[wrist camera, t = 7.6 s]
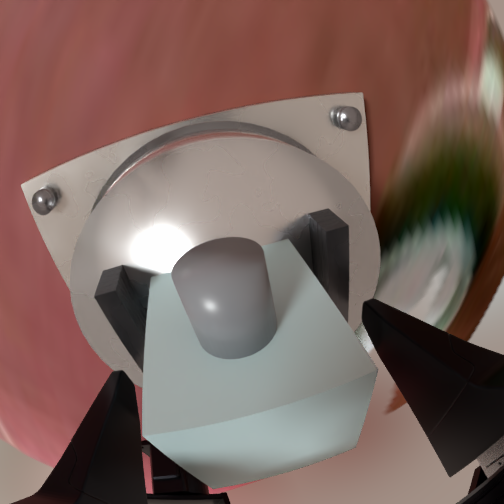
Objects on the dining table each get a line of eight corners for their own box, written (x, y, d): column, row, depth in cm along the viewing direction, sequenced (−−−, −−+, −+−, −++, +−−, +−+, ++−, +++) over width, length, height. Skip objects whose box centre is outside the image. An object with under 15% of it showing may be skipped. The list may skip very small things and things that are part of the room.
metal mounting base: (359, 301, 20) (407, 365, 15) (129, 366, 19) (126, 447, 13) (352, 92, 13) (444, 101, 7) (29, 179, 11) (-44, 235, 6)
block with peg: (300, 334, 13) (355, 447, 8) (194, 364, 13) (213, 488, 7) (280, 185, 9) (391, 297, 4) (130, 226, 9) (88, 381, 4)
